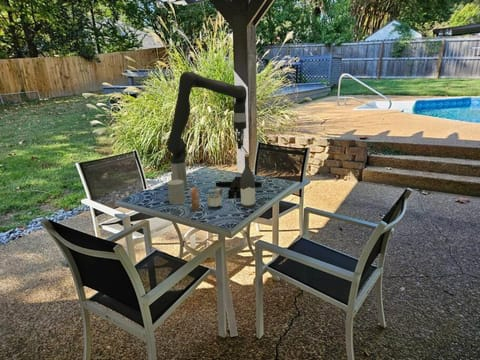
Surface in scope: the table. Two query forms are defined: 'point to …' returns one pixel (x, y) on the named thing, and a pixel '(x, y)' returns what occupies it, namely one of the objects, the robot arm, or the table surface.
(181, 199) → the speckled stone cylinder
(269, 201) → the table surface
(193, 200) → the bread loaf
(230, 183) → the toy
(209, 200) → the mug
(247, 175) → the wine bottle
